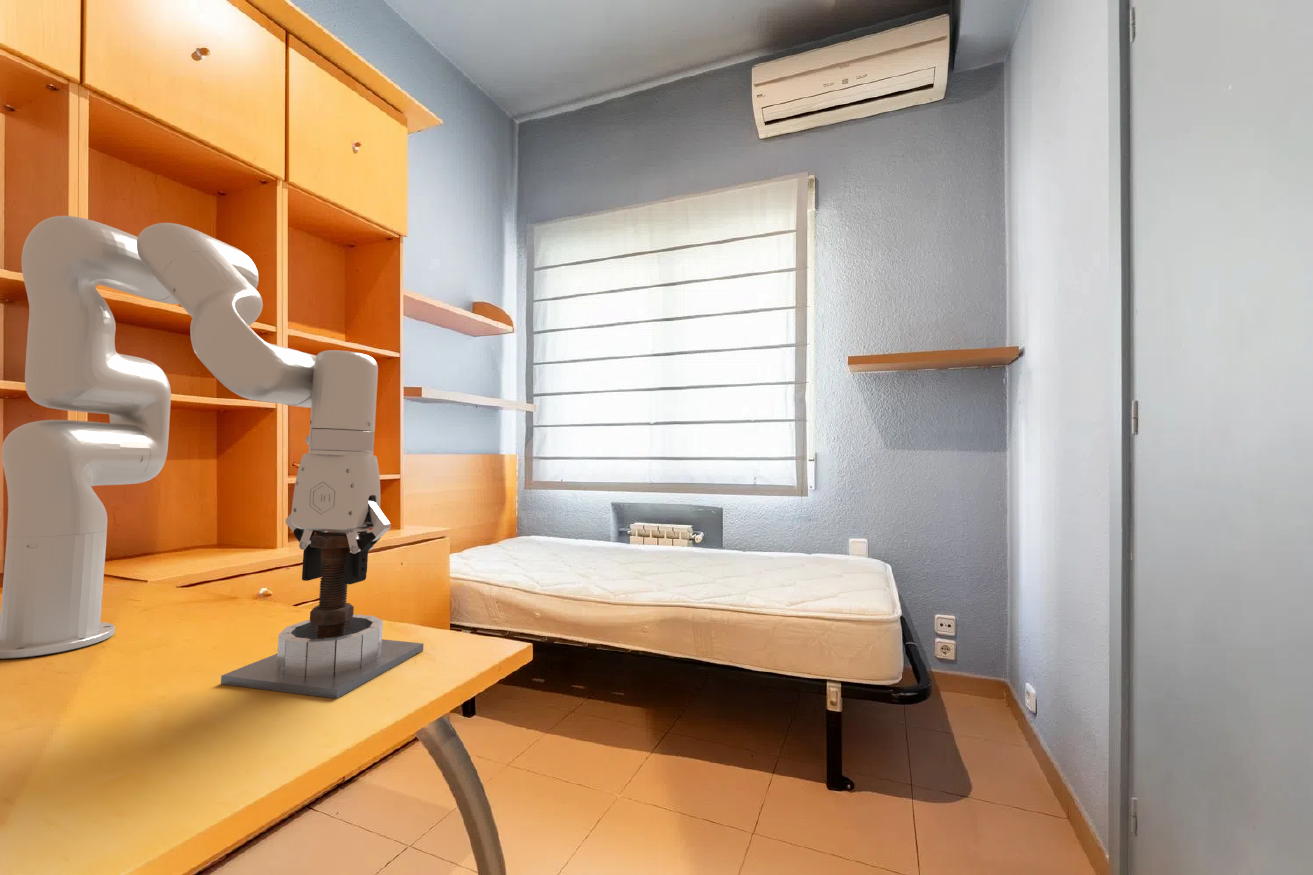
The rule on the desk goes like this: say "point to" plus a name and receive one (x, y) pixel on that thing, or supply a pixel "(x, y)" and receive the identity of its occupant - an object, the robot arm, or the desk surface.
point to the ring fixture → (325, 660)
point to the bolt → (332, 585)
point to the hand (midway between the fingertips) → (334, 578)
